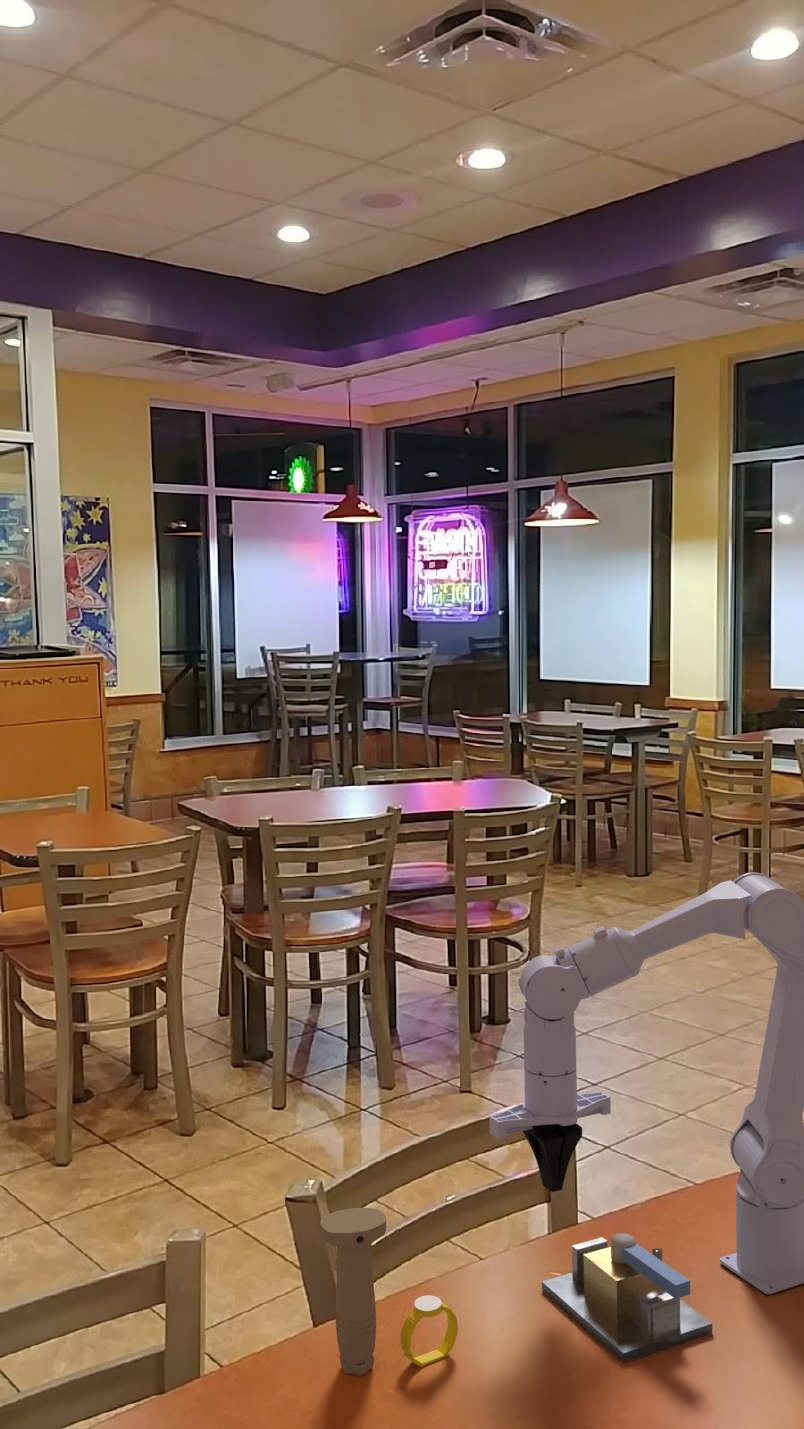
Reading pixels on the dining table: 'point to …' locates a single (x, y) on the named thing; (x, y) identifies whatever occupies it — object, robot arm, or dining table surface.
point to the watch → (428, 1308)
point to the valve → (622, 1304)
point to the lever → (648, 1265)
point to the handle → (355, 1283)
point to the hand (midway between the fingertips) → (552, 1187)
